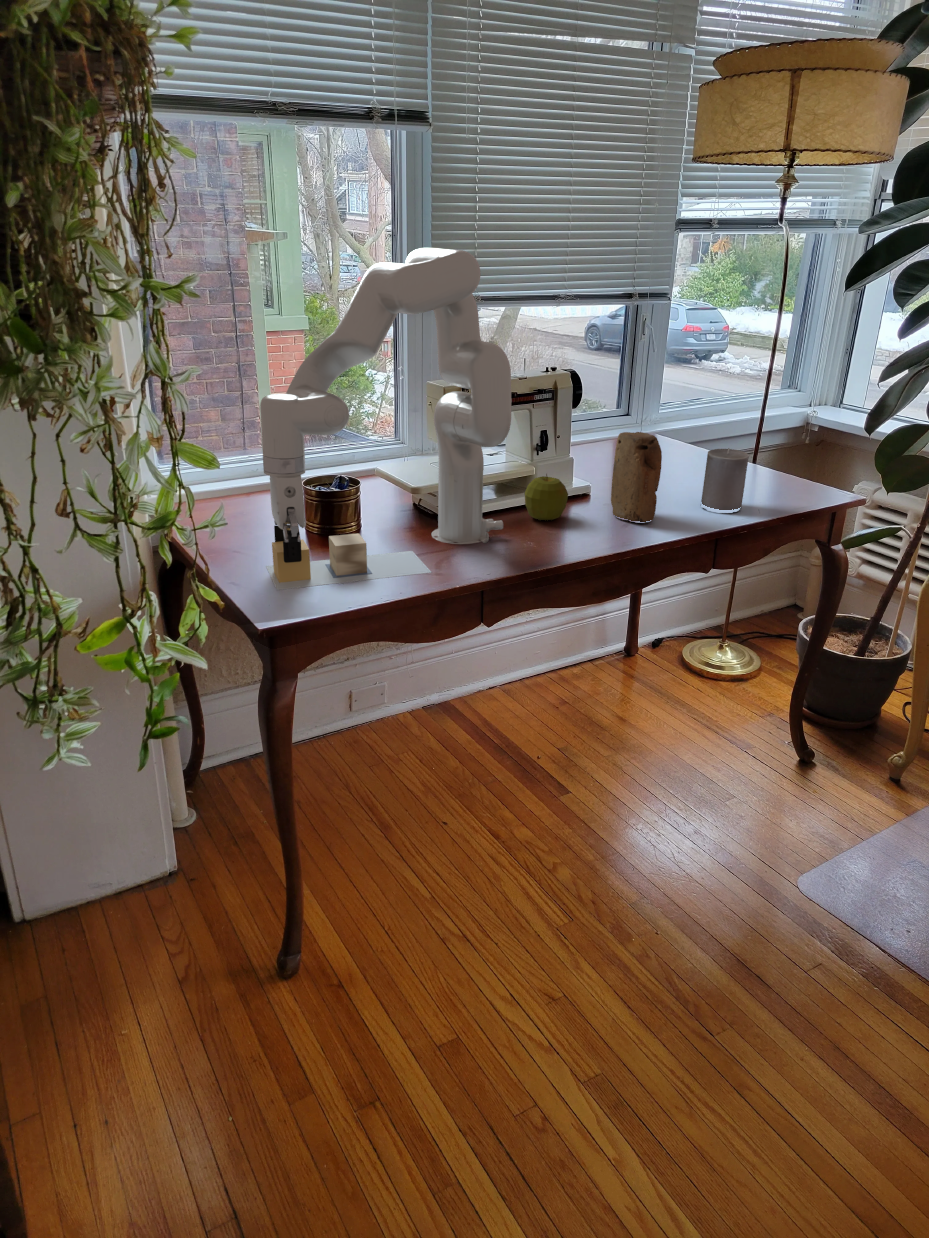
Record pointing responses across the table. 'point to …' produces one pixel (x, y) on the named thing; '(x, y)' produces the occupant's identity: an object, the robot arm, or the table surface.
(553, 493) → the apple
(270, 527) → the table surface
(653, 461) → the block
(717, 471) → the pillar candle
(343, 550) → the maple cube
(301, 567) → the ochre cube
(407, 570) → the board
